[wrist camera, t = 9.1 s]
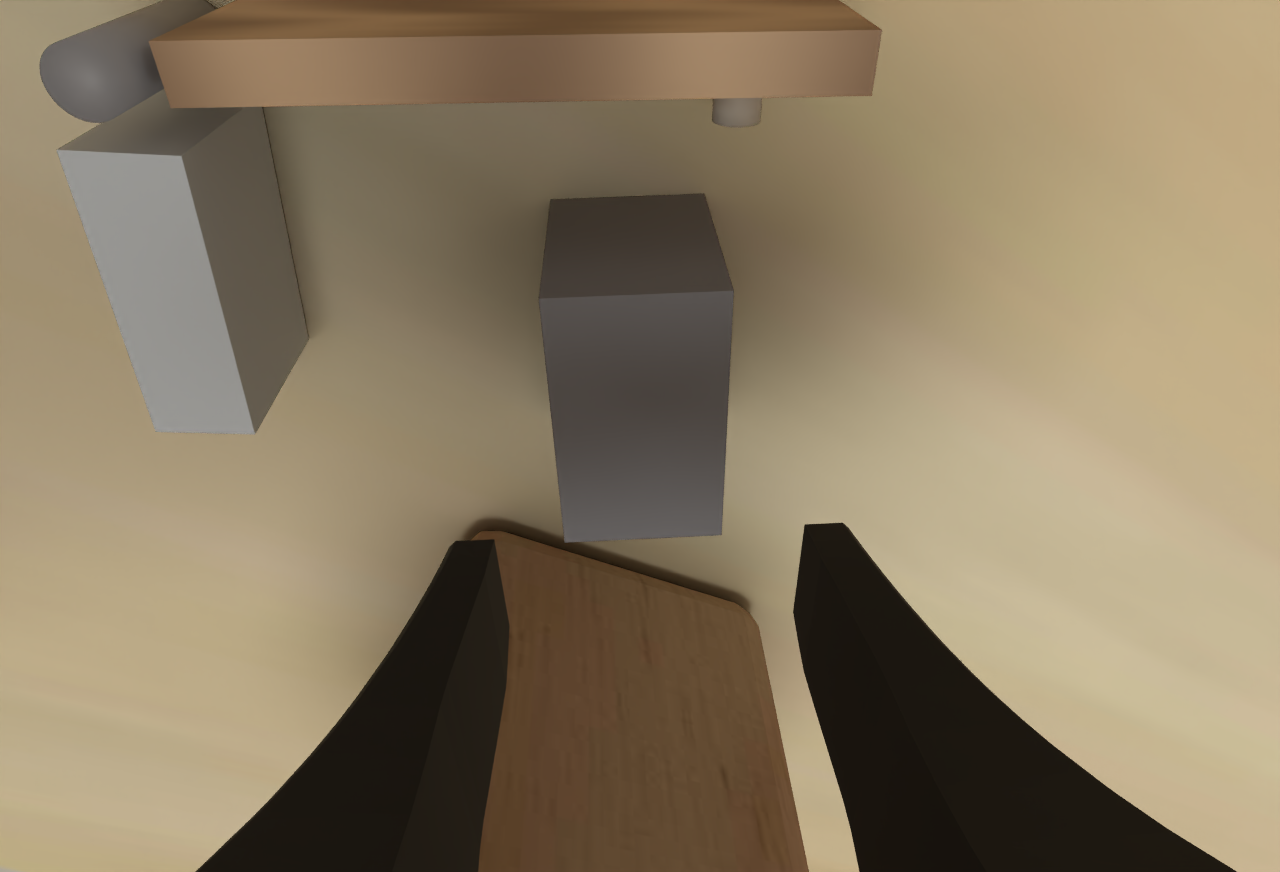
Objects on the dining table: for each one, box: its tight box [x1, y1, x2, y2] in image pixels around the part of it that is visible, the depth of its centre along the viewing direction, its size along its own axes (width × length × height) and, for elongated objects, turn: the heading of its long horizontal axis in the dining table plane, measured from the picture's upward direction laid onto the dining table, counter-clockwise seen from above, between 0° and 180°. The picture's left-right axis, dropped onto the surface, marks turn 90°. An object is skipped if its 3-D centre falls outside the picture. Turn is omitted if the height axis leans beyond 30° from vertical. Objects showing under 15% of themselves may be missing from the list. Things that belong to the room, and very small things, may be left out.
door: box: [149, 0, 882, 127], centre depth 15 cm, size 12×2×4 cm, turn 90°
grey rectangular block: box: [539, 194, 734, 543], centre depth 18 cm, size 6×4×5 cm, turn 1°
